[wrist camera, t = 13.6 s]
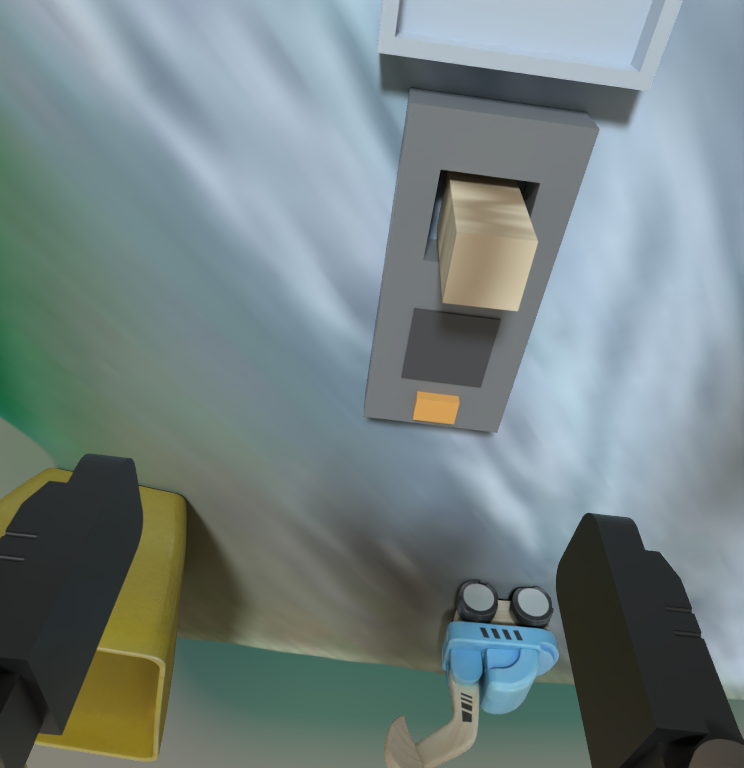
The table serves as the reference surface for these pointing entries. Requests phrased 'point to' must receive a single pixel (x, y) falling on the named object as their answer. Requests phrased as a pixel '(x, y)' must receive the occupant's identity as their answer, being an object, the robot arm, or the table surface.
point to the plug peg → (484, 241)
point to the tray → (536, 36)
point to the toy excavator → (482, 669)
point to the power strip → (422, 268)
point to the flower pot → (127, 636)
